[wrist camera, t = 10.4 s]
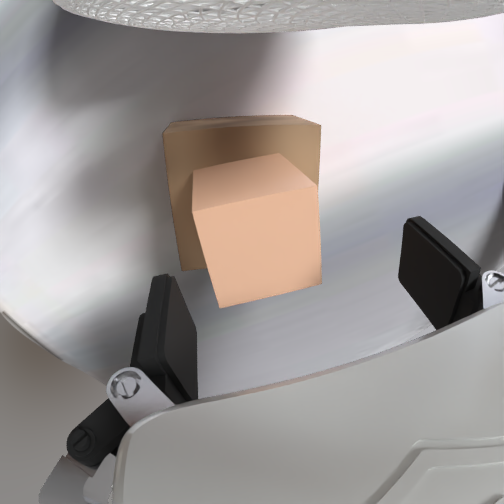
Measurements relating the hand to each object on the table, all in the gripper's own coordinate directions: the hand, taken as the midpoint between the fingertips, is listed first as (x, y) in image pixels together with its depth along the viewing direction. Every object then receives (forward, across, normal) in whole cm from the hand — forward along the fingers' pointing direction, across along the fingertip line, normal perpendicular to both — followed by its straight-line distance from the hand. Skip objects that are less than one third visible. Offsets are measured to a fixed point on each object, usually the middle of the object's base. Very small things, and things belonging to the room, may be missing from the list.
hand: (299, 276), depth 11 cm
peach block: (+8, +1, 0) cm, 8 cm away
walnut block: (+14, +1, 0) cm, 14 cm away
